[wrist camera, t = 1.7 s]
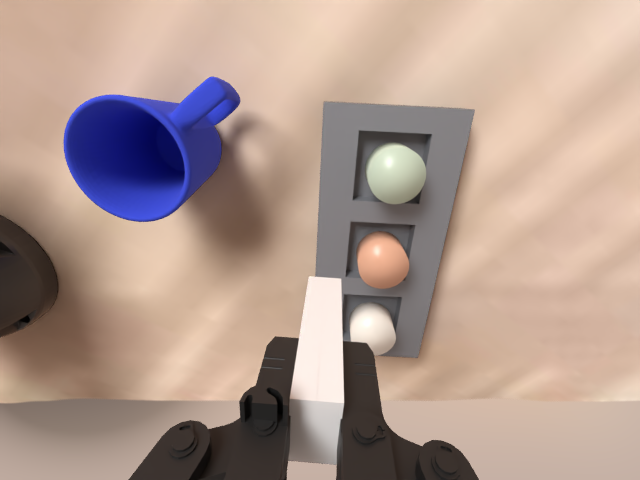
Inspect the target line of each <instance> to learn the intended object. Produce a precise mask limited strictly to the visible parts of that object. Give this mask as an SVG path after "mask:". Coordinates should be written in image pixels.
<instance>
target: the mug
mask: <svg viewBox="0 0 640 480" xmlns="http://www.w3.org/2000/svg"><path fill="white" fill-rule="evenodd" d="M239 104H240V97H239V95H238V93H237V92H236V90H235V89H234V88H233V87H232V86H231V85H230V84H229V83H227V82H225V81H224V80H221V79H219V78H216V77H210V78H208V79H207V80H205V81H204V82H203V83H202V84H201V85H199V86H198V87H197V88H196V89H195V90H194V91H193V92H192V93H190V94H189V95H188V96H187V97H186V98H185V99H184V100H183V101H182V102H181V103H180V104H179V103H172V102H165V101H158V100H151V99H144V98H137V97H130V96H123V95H104V96H99V97H95V98H92V99H90V100H88V101H86V102H85V103H83V104H82V105H80V106H79V107H78V108H77V109H76V110H75V111H74V113H73V114H72V115H71V117H70V119H69V121H68V123H67V126H66V129H65V133H64V153H65V158H66V161H67V165H68V167H69V170H70V172H71V174H72V176H73V178H74V180H75V181H76V183H77V184H78V186H79V187H80V188H81V190H82V191H83V192H84V193H85V194H86V195H87V196H88V198H90V199H91V200H92V201H93V202H94V203H95V204H96V205H98V206H99V207H101V208H102V209H103V210H105V211H107V212H109V213H111V214H113V215H115V216H117V217H120V218H123V219H126V220H131V221H138V222H148V221H155V220H159V219H162V218H165V217H167V216H169V215H170V214H172V213H173V212H175V211H176V210H177V209H178V208H179V207H180V206H181V205H182V204H183V203H184V202H185V201H186V200H187V199H188V198H189V197H190V196H191V195H192V194H193V193H194V192H195V191H196V190H197V189H198V188H199V187H200V186H201V185H202V184H203V183H204V182H205V181H206V180H207V179H208V178H209V177H210V176H211V175H212V174H213V173H214V172H215V170H216V169H217V167H218V165H219V162H220V159H221V152H222V148H221V141H220V137H219V134H218V132H217V130H216V129H215V127H214V125H216V124H218V123H219V122H221V121H222V120H224V119H225V118H226V117H227V116H228V115H230V114H231V113H232V112H233V111H234V110H235V109H236V108H237V107H238V105H239Z"/></svg>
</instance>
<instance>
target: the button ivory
mask: <svg viewBox="0 0 640 480" xmlns="http://www.w3.org/2000/svg"><path fill="white" fill-rule="evenodd" d="M349 325H350V336H351V342H362V343H367V344H368V345H369V347H370V348H371V350H372V351H373V353H374V356H377V355H381V354H384V353H386V352H388V351H389V350H390V349H391V348H392V347H393V346H394V344H395V341H396V334H395V330H394V327H393V323H392V320H391V316H390V313H389V311H388V310H387V308H386V307H384V306H383V305H381V304H379V303H375V302H366V303H363V304H360V305H358V306H357V307H355V308H354V309H353V310H352V312H351V313H350V316H349Z"/></svg>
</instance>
